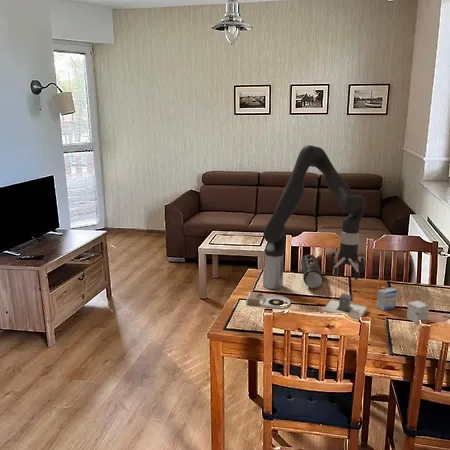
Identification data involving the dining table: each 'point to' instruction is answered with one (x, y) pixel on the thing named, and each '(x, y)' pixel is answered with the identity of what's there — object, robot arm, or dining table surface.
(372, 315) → the dining table surface
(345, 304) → the charger
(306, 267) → the muzzle brake
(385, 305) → the medicine box
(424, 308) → the skincare box
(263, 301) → the record player
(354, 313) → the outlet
